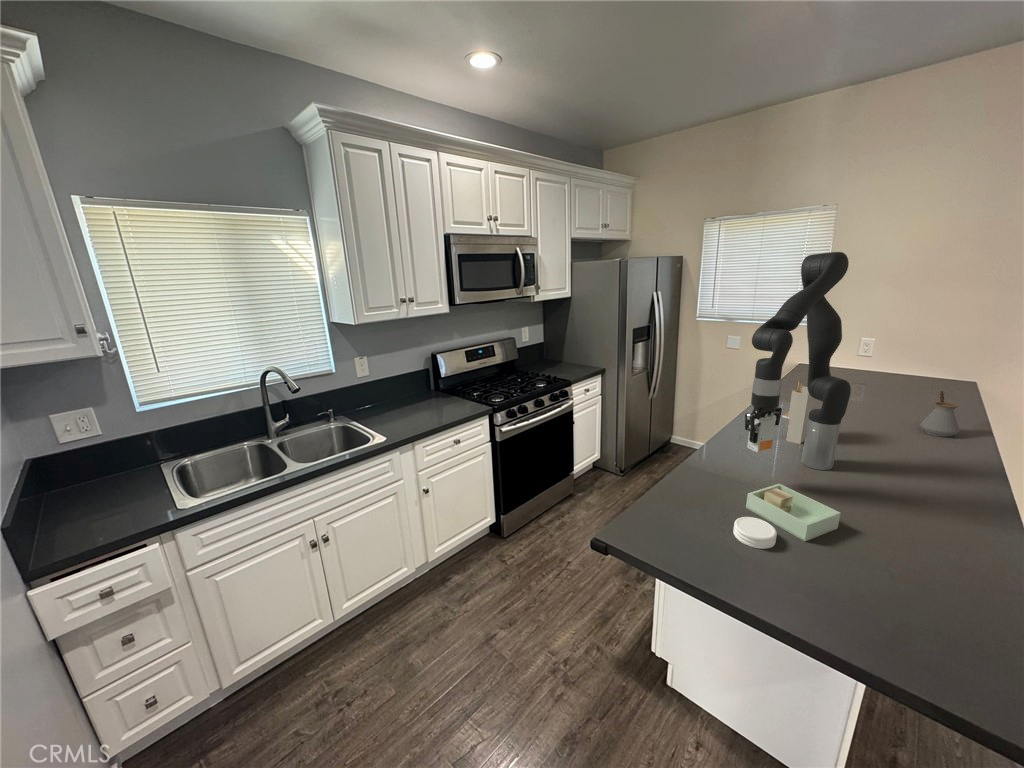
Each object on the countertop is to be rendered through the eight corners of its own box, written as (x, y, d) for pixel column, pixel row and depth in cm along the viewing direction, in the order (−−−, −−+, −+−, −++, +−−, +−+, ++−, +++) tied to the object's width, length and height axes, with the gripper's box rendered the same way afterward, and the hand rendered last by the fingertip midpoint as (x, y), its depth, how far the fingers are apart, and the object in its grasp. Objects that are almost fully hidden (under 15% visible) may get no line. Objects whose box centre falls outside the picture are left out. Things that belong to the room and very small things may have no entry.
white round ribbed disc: (737, 522, 117) (738, 511, 116) (777, 535, 111) (779, 523, 110) (729, 540, 110) (730, 529, 109) (772, 555, 104) (774, 543, 103)
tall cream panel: (809, 437, 172) (819, 379, 165) (799, 445, 165) (809, 385, 158) (788, 432, 178) (797, 376, 171) (778, 439, 171) (787, 381, 164)
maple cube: (774, 502, 125) (776, 488, 123) (790, 511, 120) (792, 496, 119) (762, 506, 123) (764, 491, 122) (778, 515, 118) (780, 500, 117)
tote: (776, 497, 128) (779, 483, 127) (837, 528, 112) (840, 512, 111) (745, 507, 124) (747, 493, 122) (804, 541, 108) (807, 525, 106)
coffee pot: (960, 441, 162) (969, 405, 158) (920, 434, 169) (928, 400, 165) (952, 425, 178) (961, 392, 174) (915, 419, 185) (923, 388, 181)
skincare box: (757, 453, 131) (761, 418, 127) (746, 448, 135) (750, 414, 131) (772, 449, 132) (776, 415, 129) (761, 444, 136) (765, 411, 133)
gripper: (770, 385, 134) (765, 432, 138) (739, 392, 129) (734, 440, 133) (793, 390, 127) (786, 439, 132) (761, 398, 122) (755, 449, 127)
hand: (760, 440), depth 132 cm, fingers closed on skincare box, 6 cm apart
